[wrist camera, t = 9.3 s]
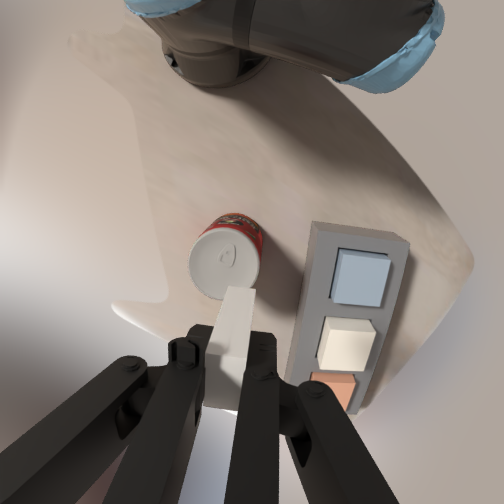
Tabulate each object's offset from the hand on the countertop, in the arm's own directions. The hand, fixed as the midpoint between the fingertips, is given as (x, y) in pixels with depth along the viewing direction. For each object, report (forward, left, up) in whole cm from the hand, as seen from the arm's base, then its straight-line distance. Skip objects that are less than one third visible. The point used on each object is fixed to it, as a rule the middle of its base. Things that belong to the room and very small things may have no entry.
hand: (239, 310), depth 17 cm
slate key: (+4, +13, -24) cm, 27 cm away
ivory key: (+13, +13, -22) cm, 29 cm away
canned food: (+3, -3, -27) cm, 27 cm away
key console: (+13, +13, -26) cm, 32 cm away
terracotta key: (+22, +13, -24) cm, 35 cm away
